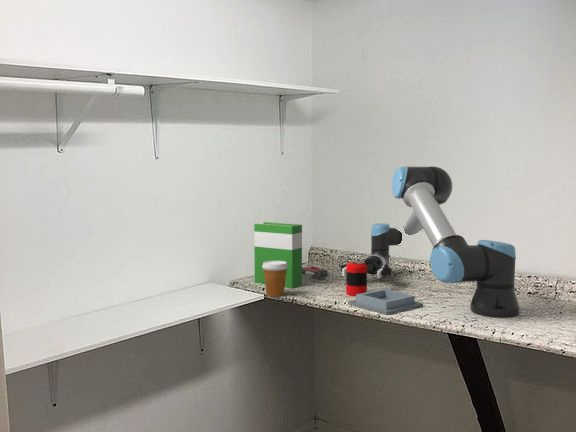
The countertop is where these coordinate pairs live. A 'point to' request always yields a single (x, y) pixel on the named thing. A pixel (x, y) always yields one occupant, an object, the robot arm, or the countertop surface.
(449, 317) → the countertop surface
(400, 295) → the dock
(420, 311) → the countertop surface
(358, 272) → the soda can
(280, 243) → the cereal box
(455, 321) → the countertop surface
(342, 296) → the countertop surface
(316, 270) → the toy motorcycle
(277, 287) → the disposable coffee cup
